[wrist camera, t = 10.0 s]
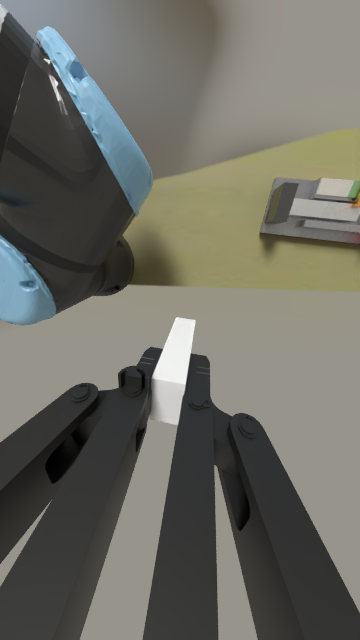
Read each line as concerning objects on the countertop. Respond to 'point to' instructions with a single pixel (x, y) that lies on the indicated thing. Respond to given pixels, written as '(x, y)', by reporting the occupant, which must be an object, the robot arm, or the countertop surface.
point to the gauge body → (316, 227)
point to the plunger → (308, 207)
